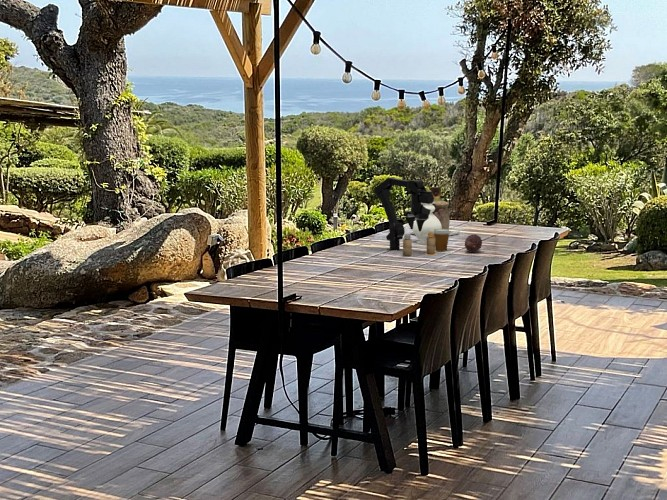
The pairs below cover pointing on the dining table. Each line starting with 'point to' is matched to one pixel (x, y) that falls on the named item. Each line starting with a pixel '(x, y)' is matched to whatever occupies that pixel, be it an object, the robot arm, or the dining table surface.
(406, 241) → the grey ball tube
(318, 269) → the dining table surface
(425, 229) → the decorative vase
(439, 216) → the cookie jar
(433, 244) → the orange ball tube
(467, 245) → the pine cone
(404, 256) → the card
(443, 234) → the disposable coffee cup
